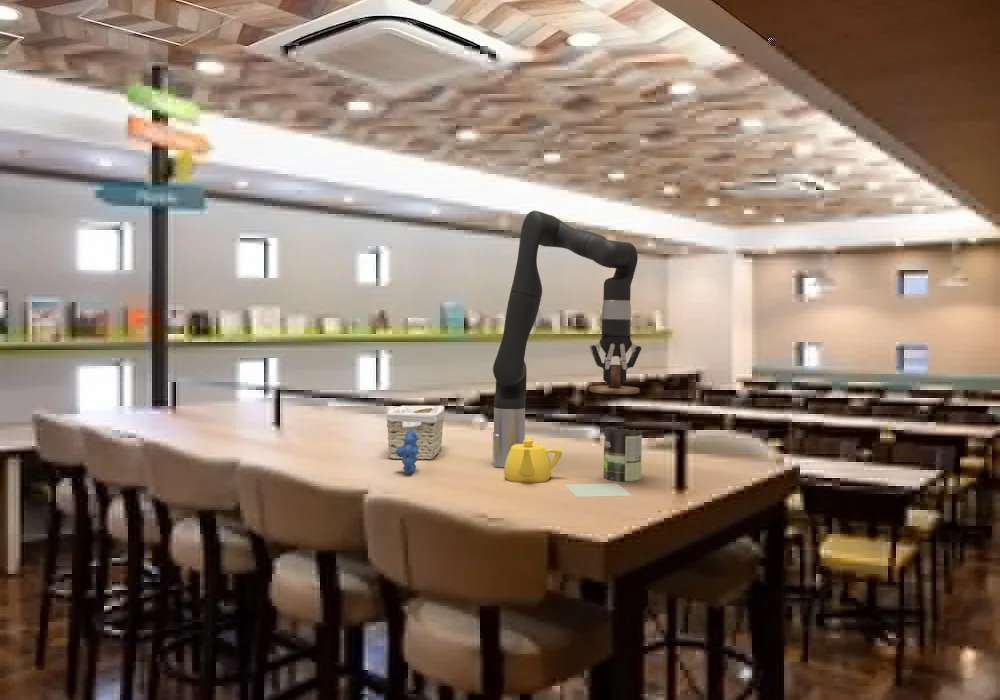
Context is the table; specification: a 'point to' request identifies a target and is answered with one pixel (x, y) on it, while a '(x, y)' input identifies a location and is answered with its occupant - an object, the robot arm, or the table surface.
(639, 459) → the coffee can
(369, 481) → the table surface
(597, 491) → the mat
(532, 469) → the teapot
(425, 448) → the storage basket
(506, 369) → the robot arm
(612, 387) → the lid
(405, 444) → the grapes
